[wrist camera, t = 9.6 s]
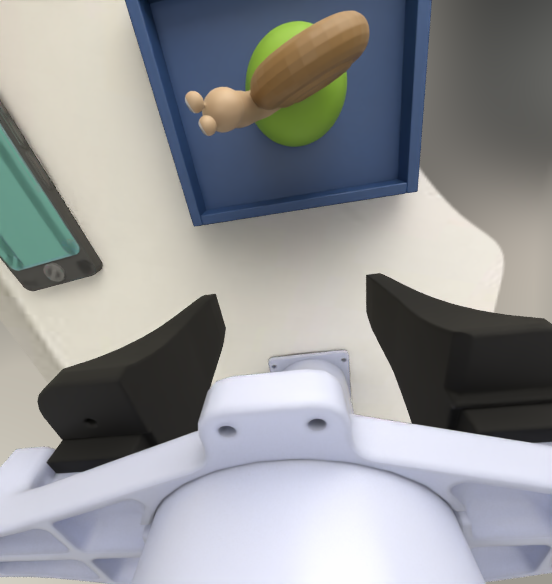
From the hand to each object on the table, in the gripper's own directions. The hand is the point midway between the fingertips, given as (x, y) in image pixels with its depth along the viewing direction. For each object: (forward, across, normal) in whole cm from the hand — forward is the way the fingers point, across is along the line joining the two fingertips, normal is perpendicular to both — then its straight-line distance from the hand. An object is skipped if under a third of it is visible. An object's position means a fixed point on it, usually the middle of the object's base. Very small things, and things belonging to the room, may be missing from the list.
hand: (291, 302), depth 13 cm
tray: (+10, -1, -9) cm, 14 cm away
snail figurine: (+10, -1, -9) cm, 13 cm away
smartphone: (+10, +20, -6) cm, 24 cm away
